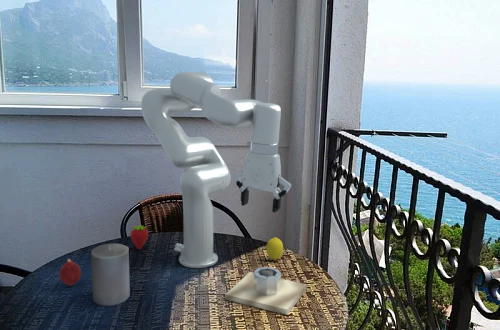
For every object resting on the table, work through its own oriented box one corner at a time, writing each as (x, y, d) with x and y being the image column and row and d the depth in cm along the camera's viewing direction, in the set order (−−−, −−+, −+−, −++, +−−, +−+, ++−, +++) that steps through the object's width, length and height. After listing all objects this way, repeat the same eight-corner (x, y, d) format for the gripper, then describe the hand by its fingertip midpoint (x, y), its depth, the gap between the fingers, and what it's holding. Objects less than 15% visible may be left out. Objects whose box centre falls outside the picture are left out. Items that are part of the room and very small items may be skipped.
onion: (86, 283, 132) (84, 257, 131) (70, 292, 127) (69, 265, 126) (71, 279, 135) (69, 253, 133) (55, 287, 130) (53, 261, 128)
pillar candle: (88, 294, 126) (85, 243, 123) (122, 285, 132) (120, 236, 128) (100, 310, 118) (98, 255, 115) (136, 299, 124) (134, 247, 121)
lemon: (281, 264, 149) (282, 241, 147) (264, 262, 150) (265, 239, 148) (283, 257, 154) (284, 235, 152) (267, 256, 155) (268, 233, 153)
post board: (225, 299, 125) (225, 277, 124) (249, 276, 139) (250, 256, 138) (287, 314, 118) (288, 291, 116) (306, 289, 132) (307, 268, 131)
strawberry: (148, 244, 163) (148, 217, 161) (148, 253, 155) (147, 224, 153) (131, 245, 162) (130, 218, 160) (130, 253, 154) (129, 225, 152)
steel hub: (250, 291, 126) (250, 274, 125) (260, 281, 133) (260, 265, 132) (273, 297, 124) (274, 280, 123) (283, 286, 130) (283, 270, 129)
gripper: (230, 146, 126) (226, 205, 130) (288, 155, 119) (283, 217, 123) (242, 142, 133) (239, 198, 137) (298, 151, 125) (293, 210, 129)
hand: (259, 207), depth 130 cm, fingers open, 9 cm apart
